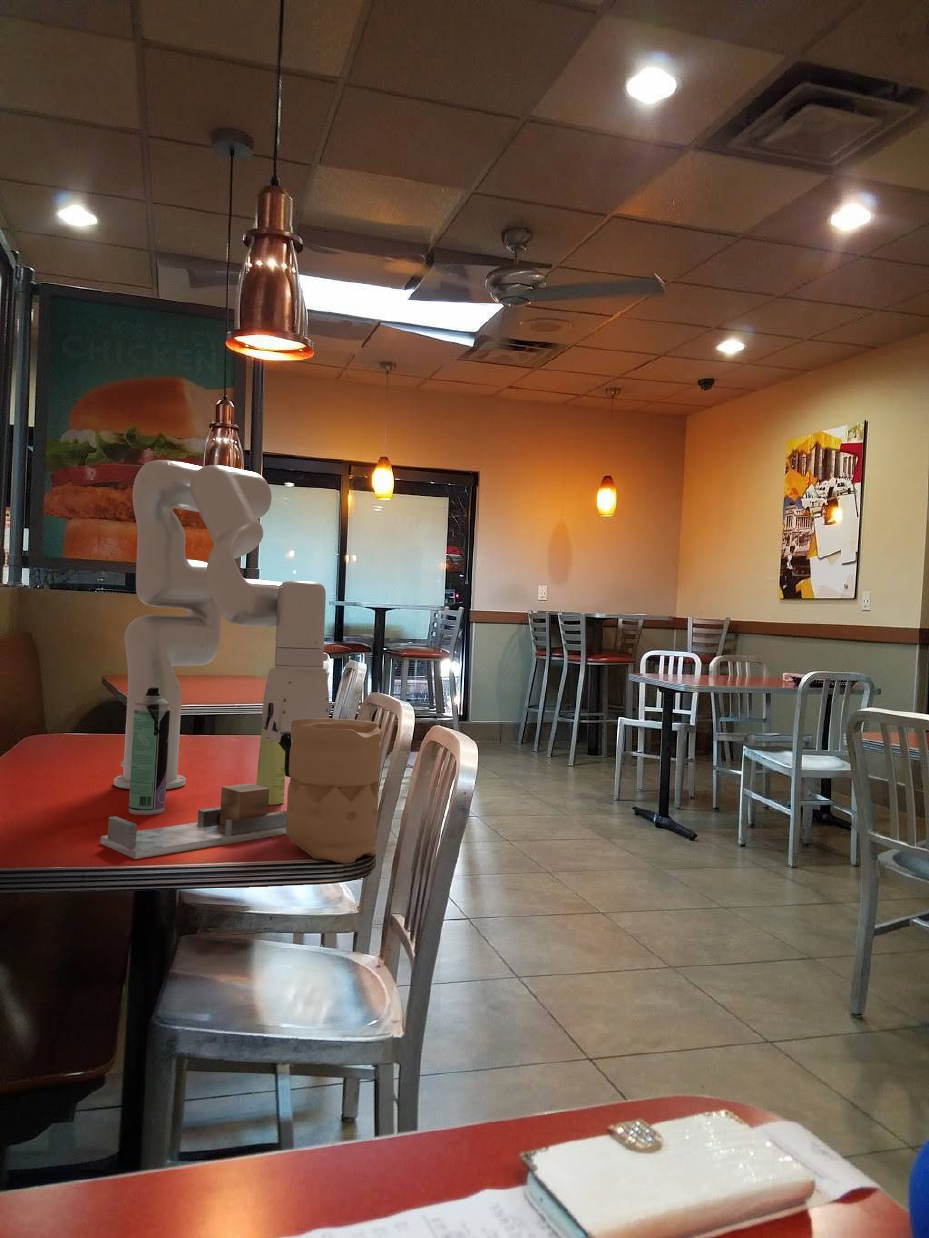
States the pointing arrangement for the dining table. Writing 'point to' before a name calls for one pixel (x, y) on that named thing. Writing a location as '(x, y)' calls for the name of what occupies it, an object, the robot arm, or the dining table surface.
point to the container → (334, 788)
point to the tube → (271, 769)
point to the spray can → (149, 754)
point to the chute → (191, 833)
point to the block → (243, 801)
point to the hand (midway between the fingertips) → (295, 776)
